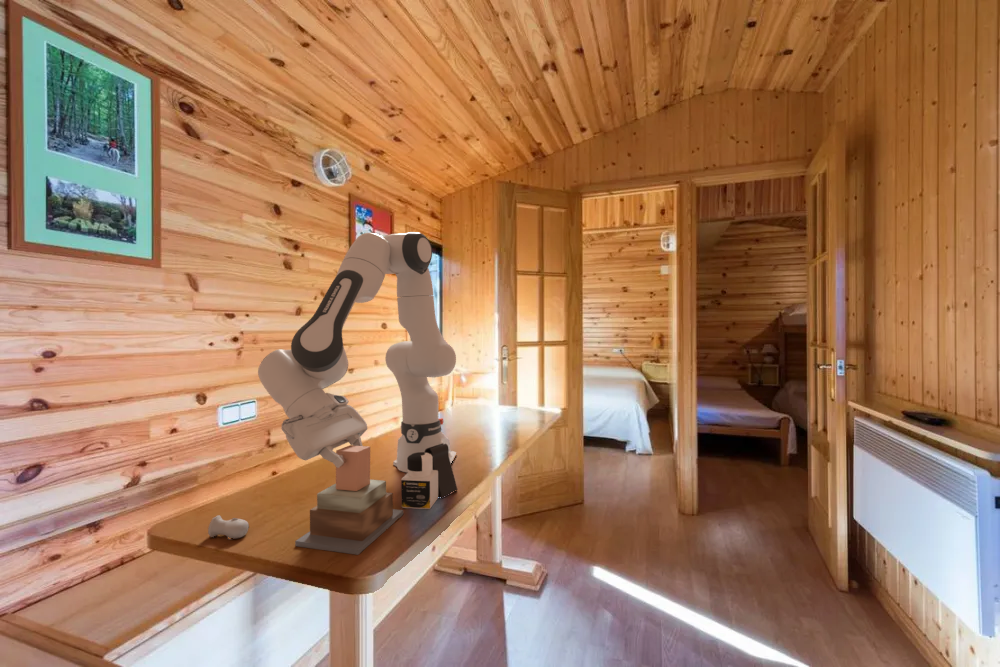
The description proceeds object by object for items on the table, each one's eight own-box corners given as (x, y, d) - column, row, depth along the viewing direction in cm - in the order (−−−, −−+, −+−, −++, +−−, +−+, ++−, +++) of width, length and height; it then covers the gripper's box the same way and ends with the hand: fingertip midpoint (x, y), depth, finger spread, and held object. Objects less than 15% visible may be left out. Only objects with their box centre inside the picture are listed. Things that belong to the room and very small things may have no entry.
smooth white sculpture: (252, 539, 89) (233, 543, 84) (222, 534, 91) (201, 538, 86) (258, 517, 90) (238, 520, 86) (227, 513, 92) (207, 515, 88)
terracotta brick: (349, 481, 94) (350, 445, 94) (370, 483, 92) (370, 446, 93) (335, 489, 89) (336, 450, 89) (356, 491, 88) (357, 452, 88)
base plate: (349, 508, 101) (349, 504, 101) (403, 514, 97) (403, 510, 97) (295, 546, 84) (295, 540, 84) (358, 554, 80) (358, 549, 80)
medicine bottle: (401, 508, 101) (400, 458, 101) (411, 496, 108) (411, 449, 108) (430, 509, 100) (429, 459, 100) (438, 498, 107) (438, 450, 107)
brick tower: (345, 510, 98) (345, 475, 98) (392, 515, 95) (392, 479, 95) (310, 534, 86) (309, 495, 86) (362, 541, 83) (361, 500, 83)
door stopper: (416, 491, 112) (416, 445, 112) (433, 484, 117) (432, 440, 116) (441, 499, 106) (441, 451, 106) (457, 491, 111) (457, 445, 111)
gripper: (286, 411, 82) (331, 465, 80) (349, 395, 102) (386, 438, 100) (267, 433, 83) (311, 486, 81) (333, 413, 103) (369, 455, 101)
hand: (353, 459), depth 90 cm, fingers open, 6 cm apart
